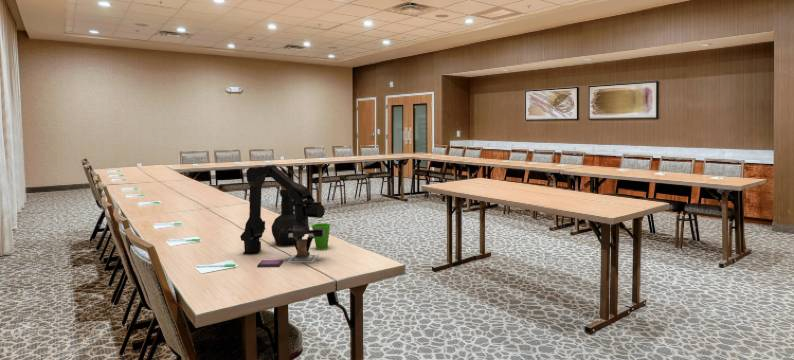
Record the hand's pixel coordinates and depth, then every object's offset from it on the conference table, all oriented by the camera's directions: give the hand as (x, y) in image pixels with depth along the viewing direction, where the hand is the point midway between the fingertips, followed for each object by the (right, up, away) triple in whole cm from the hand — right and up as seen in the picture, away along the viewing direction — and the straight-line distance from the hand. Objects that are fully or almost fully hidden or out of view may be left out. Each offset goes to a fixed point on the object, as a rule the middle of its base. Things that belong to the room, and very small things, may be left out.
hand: (302, 251), depth 211 cm
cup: (+5, -1, +18) cm, 19 cm away
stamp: (0, -2, 0) cm, 2 cm away
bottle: (-12, 0, +28) cm, 31 cm away
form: (0, -3, 0) cm, 3 cm away
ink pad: (-12, -4, -7) cm, 15 cm away
